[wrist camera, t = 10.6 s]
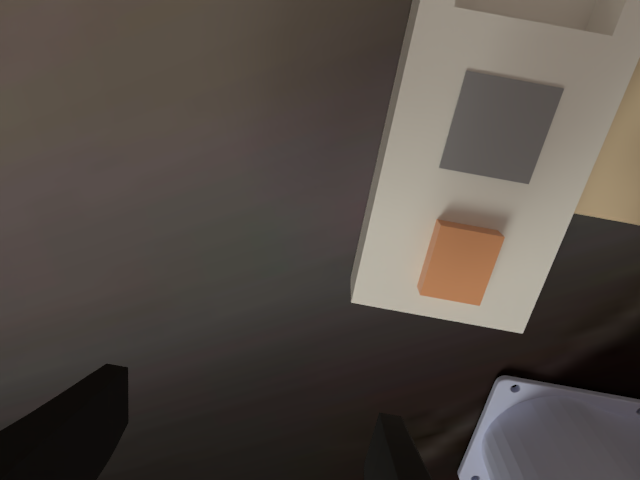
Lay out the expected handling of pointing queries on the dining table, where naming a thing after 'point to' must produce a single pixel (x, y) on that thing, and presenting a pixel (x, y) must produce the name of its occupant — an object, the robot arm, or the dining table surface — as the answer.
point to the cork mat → (617, 165)
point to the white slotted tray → (489, 152)
